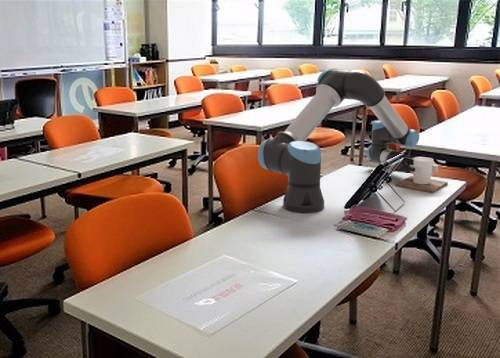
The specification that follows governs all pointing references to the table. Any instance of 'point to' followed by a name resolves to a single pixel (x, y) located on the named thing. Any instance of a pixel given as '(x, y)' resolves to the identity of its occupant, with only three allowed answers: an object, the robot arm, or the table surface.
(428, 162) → the white cup
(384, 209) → the table surface
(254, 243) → the table surface
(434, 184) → the walnut board
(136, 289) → the table surface
